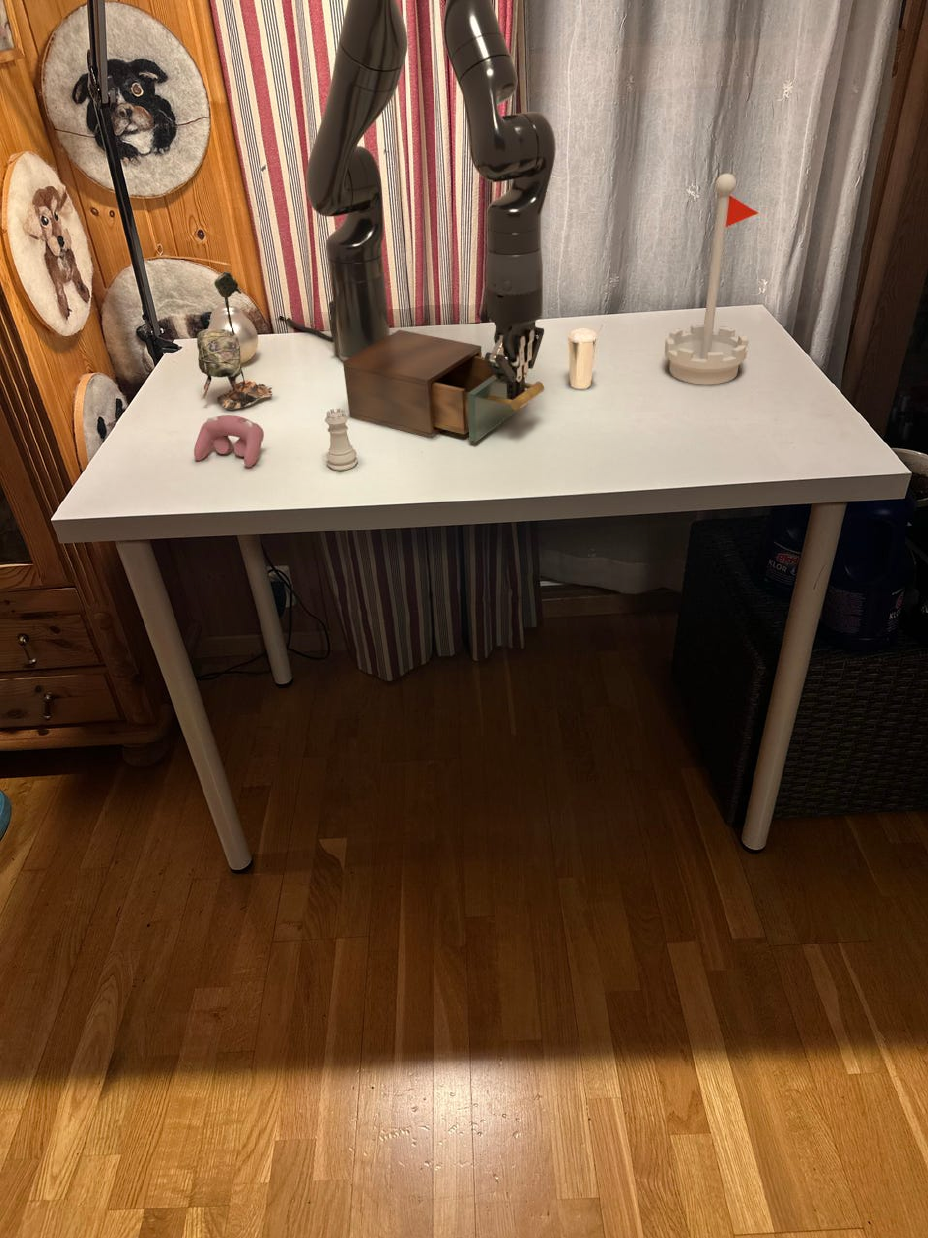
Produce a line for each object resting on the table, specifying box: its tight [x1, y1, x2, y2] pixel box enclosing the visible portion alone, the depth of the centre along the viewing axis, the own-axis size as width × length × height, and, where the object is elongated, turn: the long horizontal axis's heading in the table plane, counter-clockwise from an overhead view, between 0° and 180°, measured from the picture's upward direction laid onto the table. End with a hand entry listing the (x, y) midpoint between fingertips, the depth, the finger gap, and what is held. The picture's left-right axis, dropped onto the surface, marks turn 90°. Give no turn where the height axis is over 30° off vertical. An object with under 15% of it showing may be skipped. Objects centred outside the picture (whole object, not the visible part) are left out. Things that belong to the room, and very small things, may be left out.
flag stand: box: [664, 173, 759, 386], centre depth 143 cm, size 13×13×30 cm
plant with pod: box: [194, 270, 273, 411], centre depth 145 cm, size 8×11×20 cm
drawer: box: [431, 355, 545, 443], centre depth 138 cm, size 20×13×7 cm, turn 57°
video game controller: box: [193, 414, 265, 468], centre depth 134 cm, size 10×5×7 cm, turn 71°
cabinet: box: [342, 329, 483, 439], centre depth 143 cm, size 16×15×9 cm
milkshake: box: [567, 325, 603, 390], centre depth 147 cm, size 4×5×10 cm
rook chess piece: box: [324, 408, 359, 472], centre depth 130 cm, size 4×4×8 cm
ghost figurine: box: [207, 303, 259, 365], centre depth 161 cm, size 9×10×10 cm
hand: (515, 402), depth 134 cm, fingers closed
